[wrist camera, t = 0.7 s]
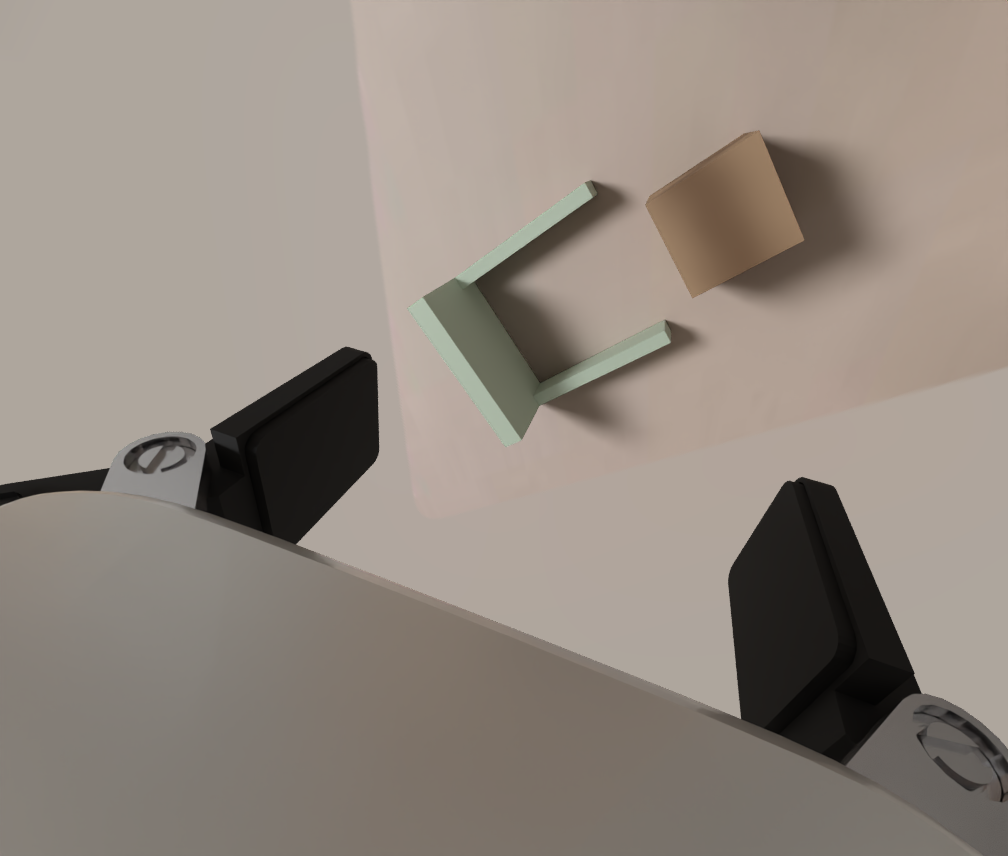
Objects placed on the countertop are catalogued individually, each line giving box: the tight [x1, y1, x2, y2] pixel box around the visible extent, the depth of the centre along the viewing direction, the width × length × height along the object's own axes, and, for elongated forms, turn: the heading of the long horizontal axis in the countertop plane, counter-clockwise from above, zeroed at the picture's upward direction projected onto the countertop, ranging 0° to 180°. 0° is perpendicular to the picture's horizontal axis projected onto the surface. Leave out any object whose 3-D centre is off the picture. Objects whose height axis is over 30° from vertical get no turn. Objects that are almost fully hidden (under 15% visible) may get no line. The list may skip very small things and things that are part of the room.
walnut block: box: [646, 131, 804, 298], centre depth 28 cm, size 6×6×6 cm
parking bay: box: [407, 180, 671, 447], centre depth 33 cm, size 13×12×8 cm
